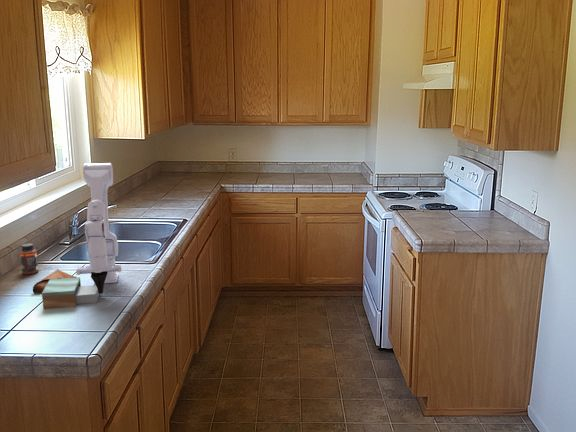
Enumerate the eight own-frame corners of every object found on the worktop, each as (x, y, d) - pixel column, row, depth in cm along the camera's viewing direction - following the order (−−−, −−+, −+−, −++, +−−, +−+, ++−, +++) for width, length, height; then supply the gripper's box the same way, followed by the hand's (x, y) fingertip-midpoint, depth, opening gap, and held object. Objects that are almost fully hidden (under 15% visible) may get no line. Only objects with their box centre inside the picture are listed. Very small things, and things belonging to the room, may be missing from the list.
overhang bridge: (51, 294, 194) (49, 279, 193) (81, 292, 196) (80, 277, 195) (43, 308, 181) (41, 293, 180) (75, 306, 183) (74, 290, 182)
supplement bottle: (42, 271, 218) (39, 243, 216) (29, 275, 213) (26, 247, 210) (31, 269, 221) (28, 241, 218) (18, 273, 216) (15, 245, 213)
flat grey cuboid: (57, 296, 192) (56, 287, 192) (99, 292, 195) (99, 284, 195) (52, 305, 184) (51, 297, 183) (97, 302, 187) (96, 293, 186)
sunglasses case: (56, 293, 194) (45, 278, 193) (40, 302, 196) (29, 287, 195) (77, 276, 212) (67, 262, 211) (63, 285, 213) (53, 270, 212)
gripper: (73, 259, 183) (77, 298, 186) (119, 256, 186) (122, 294, 189) (76, 253, 189) (80, 291, 192) (120, 250, 192) (123, 287, 195)
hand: (101, 292), depth 191 cm, fingers closed
